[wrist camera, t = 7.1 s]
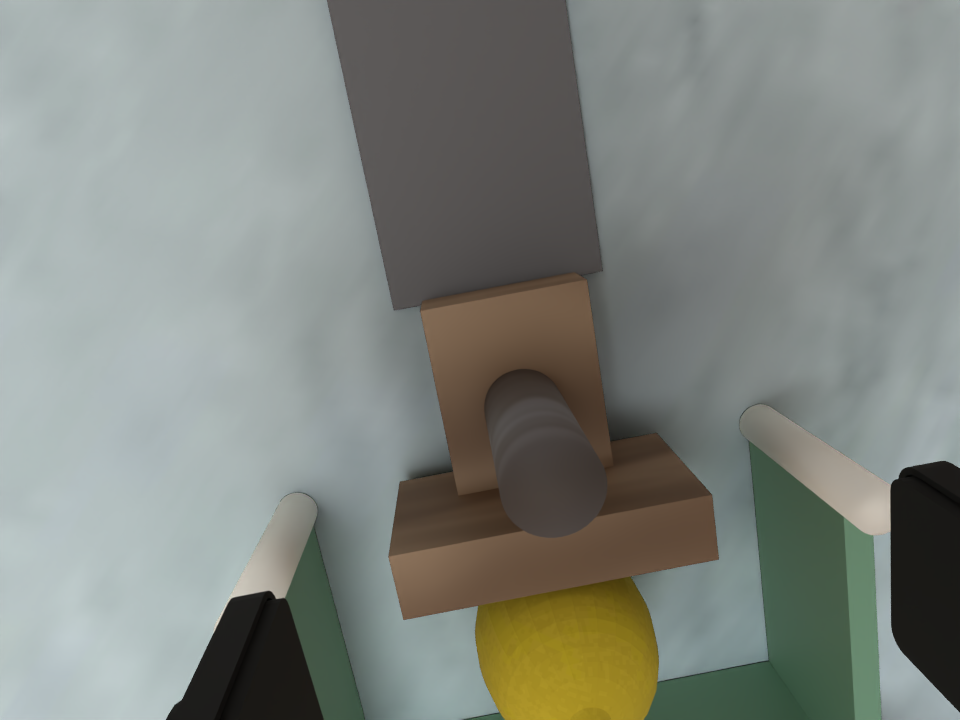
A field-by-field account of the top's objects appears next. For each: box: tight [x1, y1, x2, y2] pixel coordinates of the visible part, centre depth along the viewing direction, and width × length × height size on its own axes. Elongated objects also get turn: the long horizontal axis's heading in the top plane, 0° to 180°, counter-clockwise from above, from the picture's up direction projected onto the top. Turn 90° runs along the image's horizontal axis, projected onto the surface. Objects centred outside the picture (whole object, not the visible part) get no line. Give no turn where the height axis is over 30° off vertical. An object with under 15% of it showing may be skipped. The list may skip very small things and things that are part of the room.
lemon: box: [475, 577, 659, 720], centre depth 21 cm, size 6×6×8 cm
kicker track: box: [327, 0, 603, 310], centre depth 21 cm, size 13×7×1 cm, turn 10°
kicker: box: [389, 272, 719, 620], centre depth 19 cm, size 8×9×8 cm
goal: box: [214, 404, 891, 720], centre depth 22 cm, size 12×18×7 cm, turn 100°
